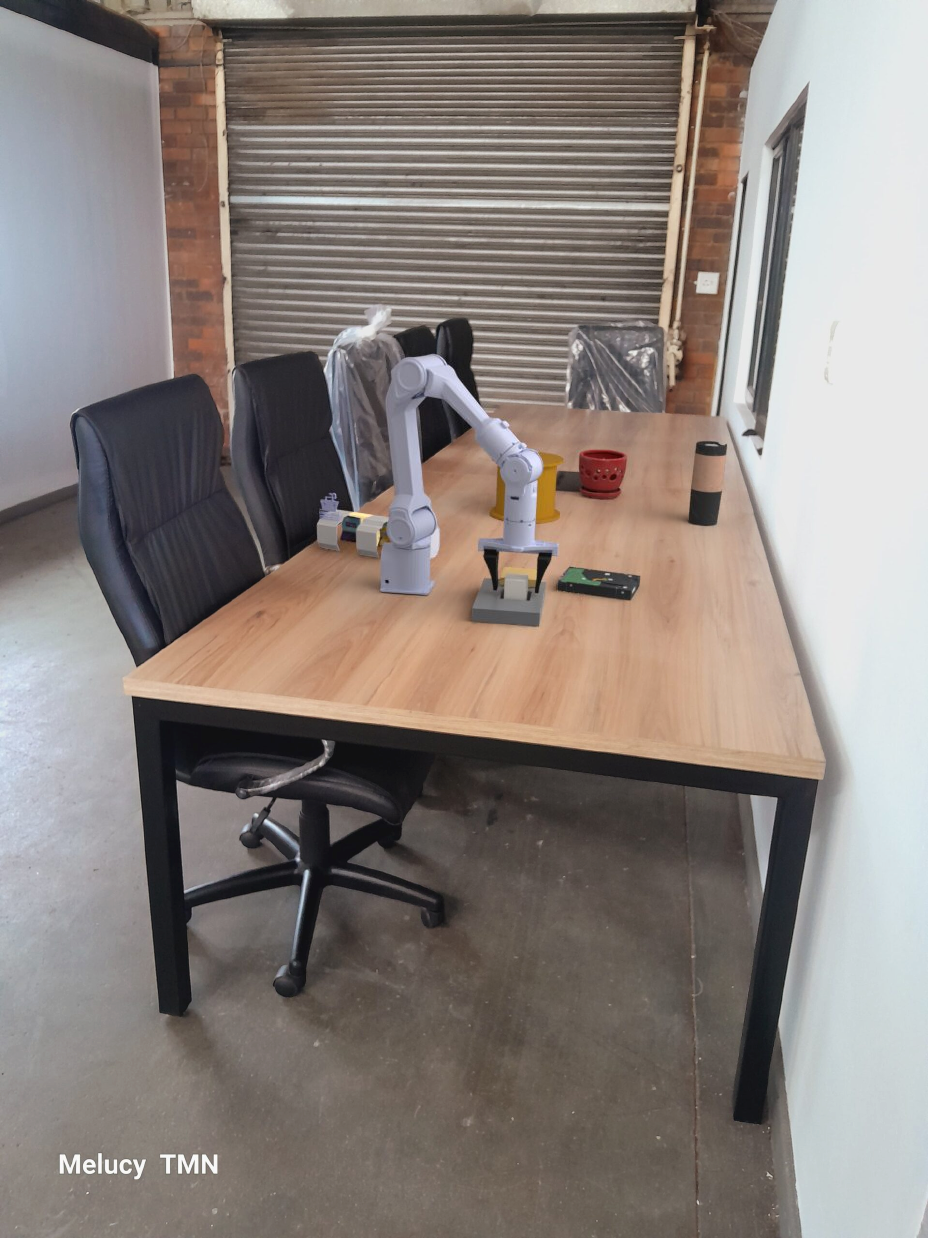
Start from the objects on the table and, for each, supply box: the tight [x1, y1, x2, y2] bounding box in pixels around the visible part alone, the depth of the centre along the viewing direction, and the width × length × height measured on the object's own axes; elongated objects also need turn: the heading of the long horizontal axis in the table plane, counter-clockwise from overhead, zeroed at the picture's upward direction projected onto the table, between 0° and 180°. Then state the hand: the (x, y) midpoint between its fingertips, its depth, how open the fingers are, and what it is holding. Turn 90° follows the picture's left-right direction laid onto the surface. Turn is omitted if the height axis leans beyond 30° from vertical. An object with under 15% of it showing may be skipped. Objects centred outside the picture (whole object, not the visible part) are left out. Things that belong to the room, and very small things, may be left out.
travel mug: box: [688, 440, 728, 527], centre depth 239 cm, size 8×8×20 cm
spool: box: [489, 451, 564, 524], centre depth 242 cm, size 18×18×15 cm
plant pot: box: [578, 448, 628, 500], centre depth 266 cm, size 13×13×12 cm
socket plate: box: [471, 577, 547, 627], centre depth 177 cm, size 12×18×2 cm, turn 172°
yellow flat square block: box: [499, 566, 537, 587], centre depth 184 cm, size 7×7×2 cm
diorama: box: [316, 492, 441, 560], centre depth 208 cm, size 25×10×13 cm, turn 65°
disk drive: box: [556, 566, 641, 601], centre depth 189 cm, size 10×3×15 cm
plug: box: [504, 573, 528, 601], centre depth 176 cm, size 4×4×6 cm
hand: (516, 590), depth 176 cm, fingers open, 7 cm apart
